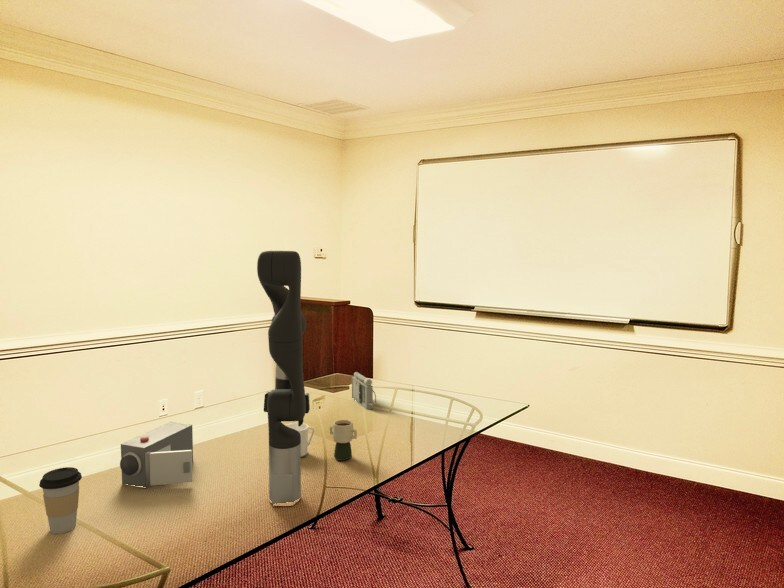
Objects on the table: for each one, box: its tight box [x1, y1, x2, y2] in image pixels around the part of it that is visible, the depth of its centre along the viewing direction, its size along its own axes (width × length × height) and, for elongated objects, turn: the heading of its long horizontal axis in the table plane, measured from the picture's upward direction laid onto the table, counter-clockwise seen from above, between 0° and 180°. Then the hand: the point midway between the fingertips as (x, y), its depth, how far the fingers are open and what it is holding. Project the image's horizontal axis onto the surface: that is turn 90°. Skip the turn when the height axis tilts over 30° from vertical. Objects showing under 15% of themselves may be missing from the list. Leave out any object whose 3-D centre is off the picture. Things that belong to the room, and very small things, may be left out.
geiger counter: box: [351, 371, 377, 410], centre depth 248 cm, size 14×6×25 cm
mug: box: [284, 422, 315, 459], centre depth 188 cm, size 11×9×10 cm
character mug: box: [329, 419, 358, 461], centre depth 185 cm, size 11×7×13 cm, turn 65°
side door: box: [145, 450, 193, 488], centre depth 160 cm, size 13×2×10 cm, turn 102°
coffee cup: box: [38, 466, 83, 535], centre depth 137 cm, size 9×9×15 cm
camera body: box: [119, 421, 194, 487], centre depth 171 cm, size 24×10×14 cm, turn 162°
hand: (286, 425), depth 167 cm, fingers open, 8 cm apart
